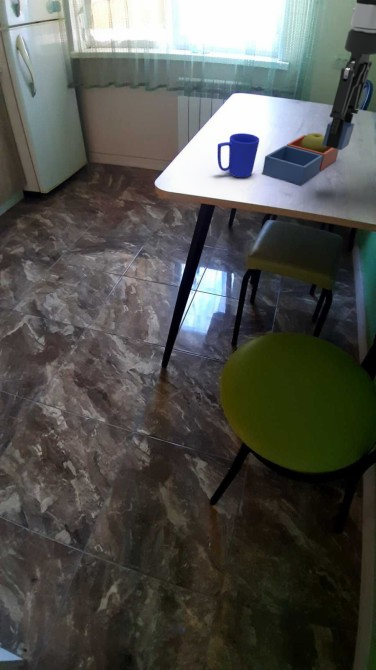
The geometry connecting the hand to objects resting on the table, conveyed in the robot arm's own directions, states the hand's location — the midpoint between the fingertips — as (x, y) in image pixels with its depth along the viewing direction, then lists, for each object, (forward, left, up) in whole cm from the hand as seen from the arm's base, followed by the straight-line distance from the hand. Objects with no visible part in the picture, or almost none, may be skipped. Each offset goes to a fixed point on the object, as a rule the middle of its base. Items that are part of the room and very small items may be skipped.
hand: (335, 143), depth 103 cm
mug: (+25, +5, -13) cm, 29 cm away
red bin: (+13, -21, -13) cm, 28 cm away
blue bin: (+13, -7, -13) cm, 20 cm away
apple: (+13, -21, -13) cm, 27 cm away
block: (0, 0, 0) cm, 0 cm away
